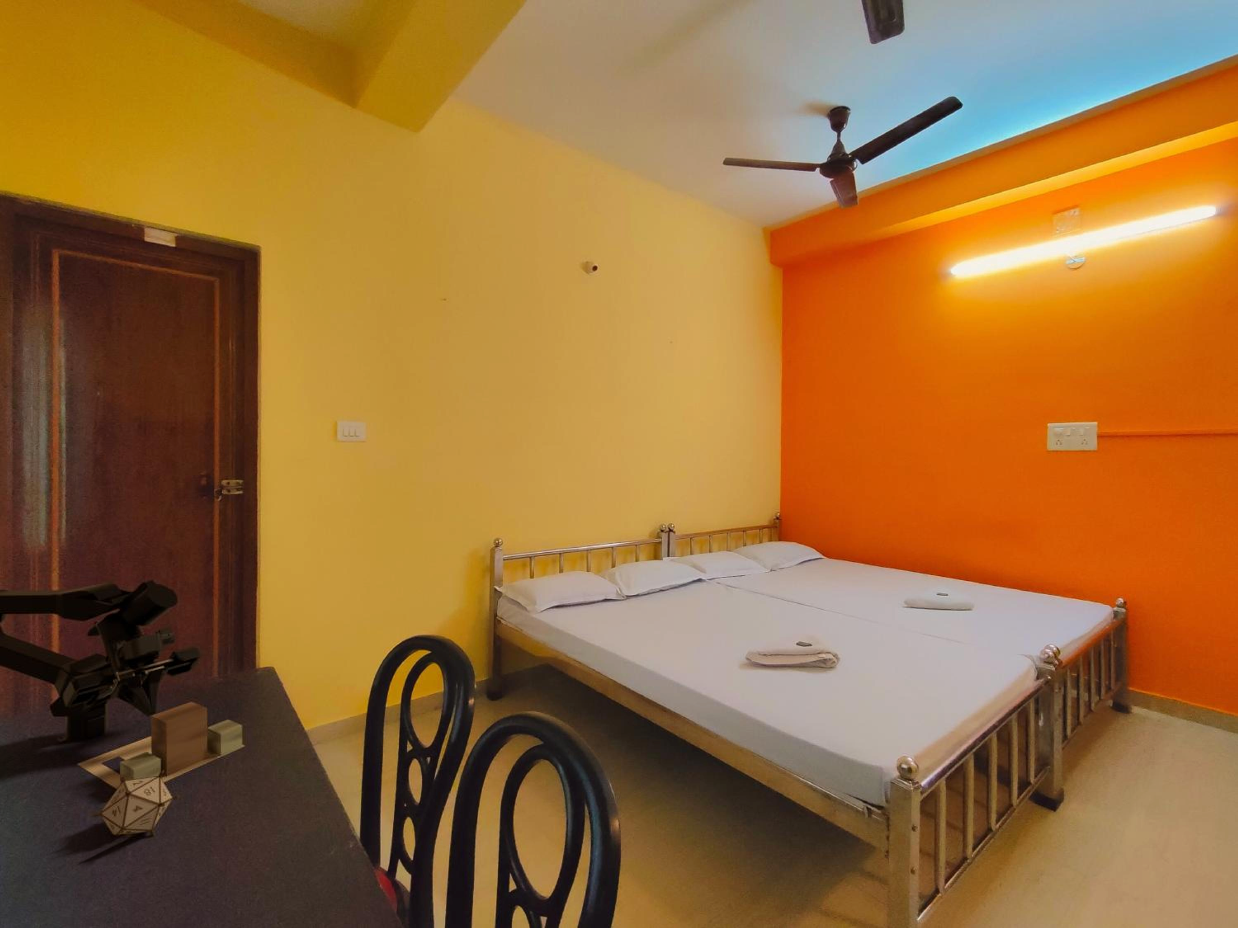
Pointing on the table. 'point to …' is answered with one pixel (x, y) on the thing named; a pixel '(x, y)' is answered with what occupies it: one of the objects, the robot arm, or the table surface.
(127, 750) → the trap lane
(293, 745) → the table surface
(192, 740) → the walnut block
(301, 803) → the table surface
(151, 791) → the game die
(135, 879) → the table surface
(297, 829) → the table surface
